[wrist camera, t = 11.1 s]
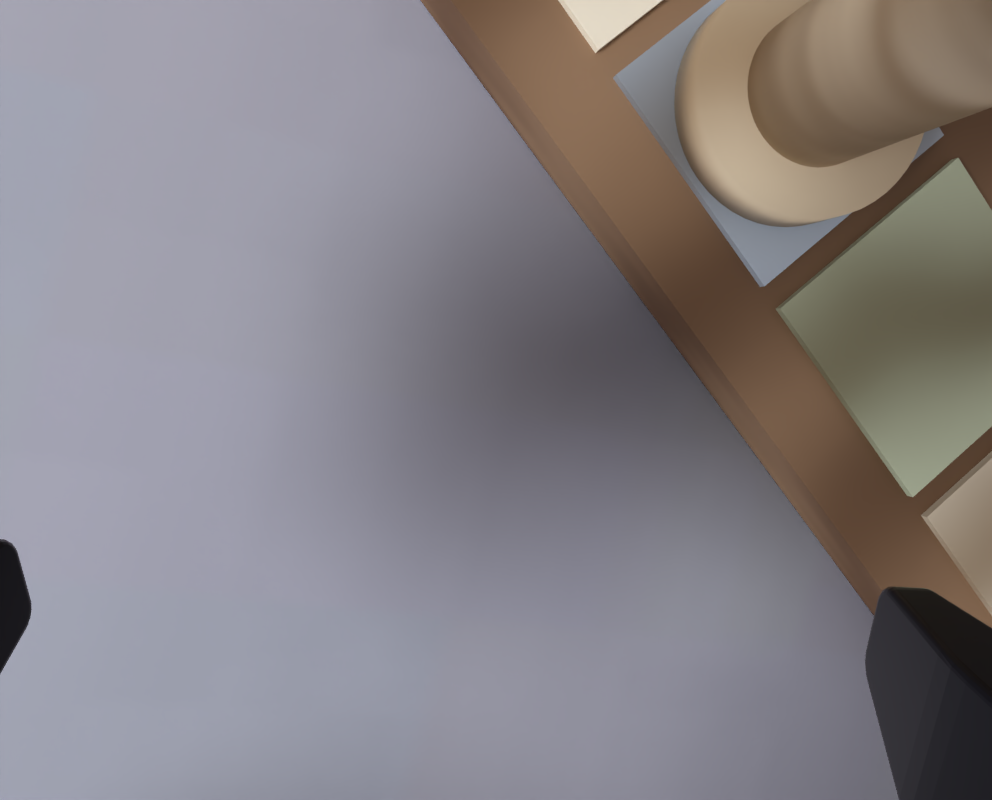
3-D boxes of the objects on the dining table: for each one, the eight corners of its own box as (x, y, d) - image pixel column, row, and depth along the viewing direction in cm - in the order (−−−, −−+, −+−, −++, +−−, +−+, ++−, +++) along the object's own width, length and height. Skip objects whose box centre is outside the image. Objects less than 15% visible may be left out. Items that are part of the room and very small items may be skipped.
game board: (1194, 503, 22) (1263, 516, 20) (957, 728, 21) (1010, 761, 19) (655, -355, 18) (687, -427, 16) (330, -122, 17) (329, -173, 15)
